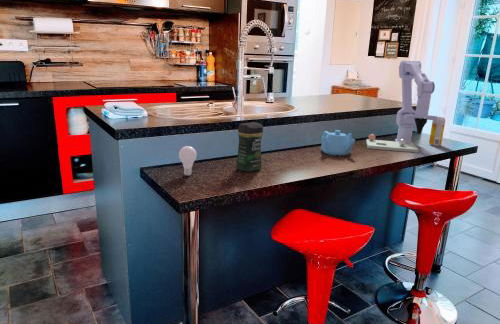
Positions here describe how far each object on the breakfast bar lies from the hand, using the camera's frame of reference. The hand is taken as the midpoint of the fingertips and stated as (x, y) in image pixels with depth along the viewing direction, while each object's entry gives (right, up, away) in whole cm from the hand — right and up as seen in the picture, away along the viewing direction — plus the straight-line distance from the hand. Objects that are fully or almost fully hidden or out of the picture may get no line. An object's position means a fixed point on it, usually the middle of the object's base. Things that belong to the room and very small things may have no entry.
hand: (418, 133), depth 193 cm
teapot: (-44, -10, -9) cm, 46 cm away
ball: (-19, -1, +13) cm, 23 cm away
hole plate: (-11, -6, +7) cm, 15 cm away
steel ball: (-7, -4, +3) cm, 9 cm away
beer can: (+15, -5, +15) cm, 23 cm away
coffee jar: (-85, -17, -41) cm, 96 cm away
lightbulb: (-107, -19, -52) cm, 121 cm away
